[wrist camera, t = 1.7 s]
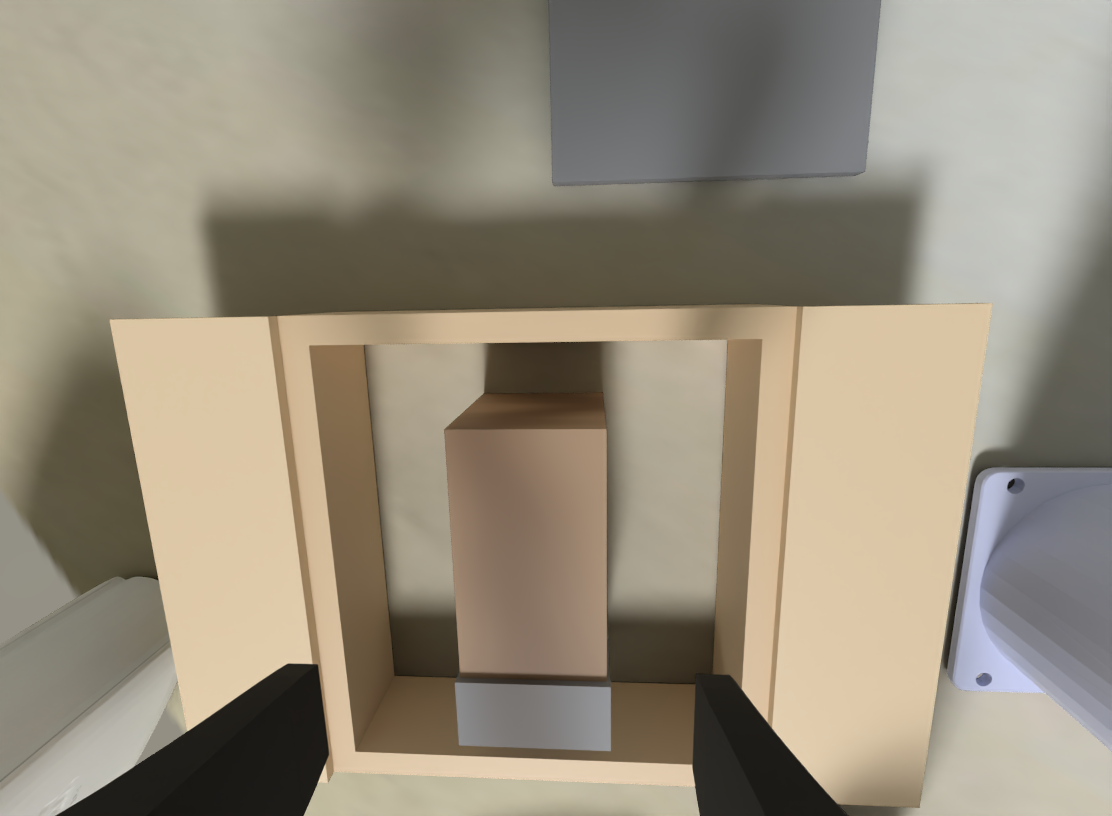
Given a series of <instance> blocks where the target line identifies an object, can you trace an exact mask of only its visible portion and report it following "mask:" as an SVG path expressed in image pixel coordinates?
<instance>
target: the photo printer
mask: <svg viewBox="0 0 1112 816" xmlns="http://www.w3.org/2000/svg"><path fill="white" fill-rule="evenodd" d="M177 681H178V679H177V674H176V669H175V664H174V658H173V653H172V648H171V642H170V637H169V632H168V627H167V621H166V616H165V611H164V605H163V600H162V595H161V590H160V584H159V580H156V579H153V578H148V577H132V578H130V579H127V580H125V579H123V578H121V577H114V578H112V579H110V580H108V581H105V582H103V583H101V584H100V585H98V586H96V587H94V588H93V589H91V590H89V591H88V592H86V593H84V594H82V595H80V596H79V597H77V598H76V599H74V600H73V601H71V602H70V603H68V604H66V605H65V606H63V607H61V608H59V609H58V610H56V611H54V612H53V613H51V614H50V615H48V616H46V617H45V618H43V619H41V620H40V621H38V622H36V623H35V624H33V625H31V626H30V627H28V628H27V629H25V630H23V631H21V632H20V633H18V634H17V635H15V636H13V637H12V638H10V639H8V640H6V641H5V642H3V643H1V644H0V816H56V815H57V814H59V813H61V812H62V811H64V810H66V809H67V808H69V807H71V806H72V805H74V804H76V803H77V802H79V801H81V800H83V799H84V798H86V797H87V796H89V795H91V794H92V793H94V792H96V791H97V790H99V789H100V788H102V787H104V786H105V785H107V784H108V783H110V782H111V781H113V780H114V779H116V778H117V777H119V776H121V775H122V774H124V773H125V772H127V771H128V770H130V769H131V768H133V767H134V766H135V764H136V762H137V761H138V759H139V757H140V755H141V754H142V752H143V750H144V748H145V746H146V744H147V742H148V740H149V738H150V737H151V735H152V733H153V731H154V729H155V727H156V725H157V723H158V721H159V719H160V717H161V715H162V713H163V711H164V709H165V707H166V705H167V703H168V701H169V699H170V697H171V695H172V692H173V690H174V688H175V686H176V683H177Z"/></svg>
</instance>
